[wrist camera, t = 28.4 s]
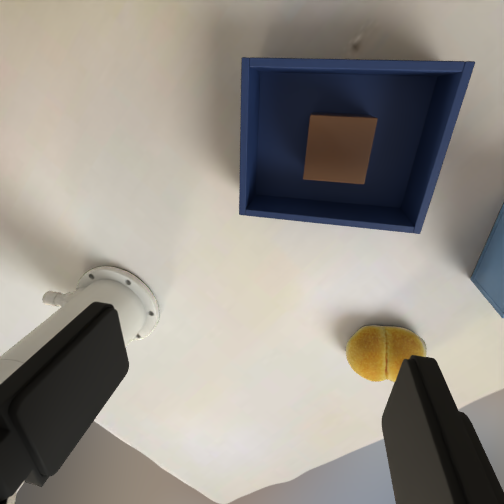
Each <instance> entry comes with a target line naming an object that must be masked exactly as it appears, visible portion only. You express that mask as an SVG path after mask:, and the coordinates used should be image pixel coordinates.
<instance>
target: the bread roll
mask: <svg viewBox="0 0 504 504" xmlns="http://www.w3.org/2000/svg"><path fill="white" fill-rule="evenodd" d="M412 355H417V356H423V357H426V344H425V342H424V341H423V339H421V338H420V337H419V336H417V335H416V334H415V333H413V332H412V331H410V330H408V329H405V328H402V327H395V326H378V325H368V326H364V327H362V328H360V329H359V330H358V331H357V332H356V333H355V334H354V335H353V336H352V337H351V338H350V339H349V341H348V343H347V345H346V356H347V360H348V362H349V364H350V366H351V367H352V369H353V370H354V371H355V372H356V373H357V374H359V375H360V376H362V377H364V378H366V379H368V380H370V381H383V380H386V379H389V380H391V381H393V382H395V380H396V378H397V375H398V372H399V370H400V367H401V364H402V362H403V360H404V359H409V358H410V356H412Z"/></svg>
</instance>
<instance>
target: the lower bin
mask: <svg viewBox="0 0 504 504" xmlns="http://www.w3.org/2000/svg"><path fill="white" fill-rule="evenodd" d="M474 64H475V62H472V61H466V62H464V61H414V60H358V59H302V58H246V57H242V70H241V133H240V196H239V215H247V216H256V217H265V218H275V219H284V220H294V221H303V222H313V223H322V224H331V225H341V226H350V227H360V228H369V229H379V230H388V231H397V232H407V233H416V234H420V232H421V229H422V226H423V223H424V220H425V217H426V214H427V211H428V208H429V204H430V201H431V198H432V195H433V192H434V189H435V186H436V183H437V180H438V176H439V173H440V170H441V167H442V164H443V161H444V158H445V155H446V152H447V148H448V145H449V142H450V139H451V136H452V133H453V130H454V127H455V124H456V120H457V117H458V114H459V111H460V108H461V105H462V102H463V99H464V96H465V92H466V89H467V86H468V83H469V80H470V77H471V74H472V71H473V68H474ZM312 112H321V113H343V114H365V115H371V116H373V117H376V118H378V121H377V125H376V130H375V135H374V140H373V145H372V149H371V154H370V159H369V164H368V169H367V173H366V178H365V183H364V184H354V183H342V182H330V181H317V180H305V179H303V174H304V165H305V156H306V147H307V138H308V129H309V120H310V115H311V113H312Z"/></svg>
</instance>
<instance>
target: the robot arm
mask: <svg viewBox="0 0 504 504" xmlns="http://www.w3.org/2000/svg"><path fill="white" fill-rule="evenodd" d="M42 300H43V303H44V304H47V305H52V306H61V308H60V309H59V310H58V311H56V312H55V313H54V314H53V315H51V316H50V317H49V318H48V319H46V320H45V321H44V322H43V323H41V324H40V325H39V326H38V327H36V328H35V329H34V330H33V331H31V332H30V333H29V334H28V335H27V336H25V337H24V338H23V339H22V340H20V341H19V342H18V343H17V344H15V345H14V346H13V347H12V348H10V349H9V350H8V351H7V352H5V353H4V354H3V355H2V356H0V504H15V499H16V493H17V492H18V490H19V489H20V487H21V486H22V484H23V483H24V481H25V482H26V483H30V484H33V485H37V486H40V487H42V486H43V484H44V483H45V482H46V480H47V479H48V477H49V476H52V475H54V474H55V473H56V472H57V471H58V470H59V469H60V467H61V466H62V464H63V463H64V462H65V460H66V459H67V457H68V456H69V455H70V453H71V452H72V450H73V449H74V448H75V446H76V445H77V443H78V442H79V440H80V439H81V438H82V436H83V435H84V433H85V432H86V431H87V429H88V428H89V426H90V425H91V423H92V422H93V421H94V419H95V418H96V416H97V415H98V414H99V412H100V411H101V409H102V408H103V407H104V405H105V404H106V402H107V401H108V399H109V398H110V397H111V395H112V394H113V392H114V391H115V390H116V388H117V387H118V385H119V384H120V382H121V381H122V380H123V378H124V377H125V375H126V374H127V372H128V369H129V362H128V357H127V352H126V348H127V346H128V345H129V344H130V342H131V341H132V340H140V339H143V338H145V337H147V336H148V335H150V334H151V333H152V332H153V330H154V329H155V327H156V326H157V324H158V321H159V307H158V304H157V301H156V299H155V297H154V295H153V294H152V292H151V291H150V289H149V288H148V287H147V286H146V285H145V284H144V283H143V282H142V281H141V280H140V279H138V278H137V277H136V276H134V275H132V274H131V273H129V272H127V271H124V270H122V269H119V268H115V267H109V266H102V267H96V268H94V269H91V270H90V271H88V272H87V273H85V274H84V275H83V276H82V277H81V278H80V280H79V282H78V284H77V288H76V291H75V292H74V293H71V292H68V293H66V294H62V293H59V292H53V291H48V292H46V293H45V294H44V296H43V299H42ZM382 430H383V436H384V440H385V446H386V452H387V457H388V463H389V468H390V474H391V479H392V484H393V490H394V495H395V501H396V504H504V492H503V490H502V488H501V486H500V483H499V481H498V479H497V477H496V475H495V473H494V470H493V468H492V466H491V464H490V462H489V460H488V457H487V456H486V453H485V451H484V449H483V447H482V444H481V443H480V440H479V438H478V436H477V434H476V432H475V429H474V427H473V425H472V423H471V421H470V420H469V418H468V417H467V415H465V414H464V413H463V412H459V411H458V409H457V407H456V404H455V402H454V400H453V398H452V395H451V393H450V391H449V388H448V386H447V384H446V382H445V379H444V377H443V375H442V372H441V370H440V368H439V366H438V363H437V362H436V360H435V359H434V358H429V357H423V356H417V355H412V356H410V358H409V359H404V360H403V362H402V364H401V367H400V370H399V372H398V375H397V378H396V380H395V383H394V386H393V389H392V391H391V394H390V397H389V399H388V402H387V405H386V407H385V410H384V413H383V416H382Z"/></svg>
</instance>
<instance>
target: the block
mask: <svg viewBox="0 0 504 504" xmlns="http://www.w3.org/2000/svg"><path fill="white" fill-rule="evenodd" d="M377 121H378V118H376V117H373V116H371V115H365V114H343V113H321V112H312V113H311V115H310V120H309V129H308V138H307V147H306V156H305V165H304V174H303V179H305V180H317V181H330V182H342V183H354V184H364V183H365V178H366V173H367V169H368V164H369V159H370V154H371V149H372V145H373V140H374V135H375V130H376V125H377Z"/></svg>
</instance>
